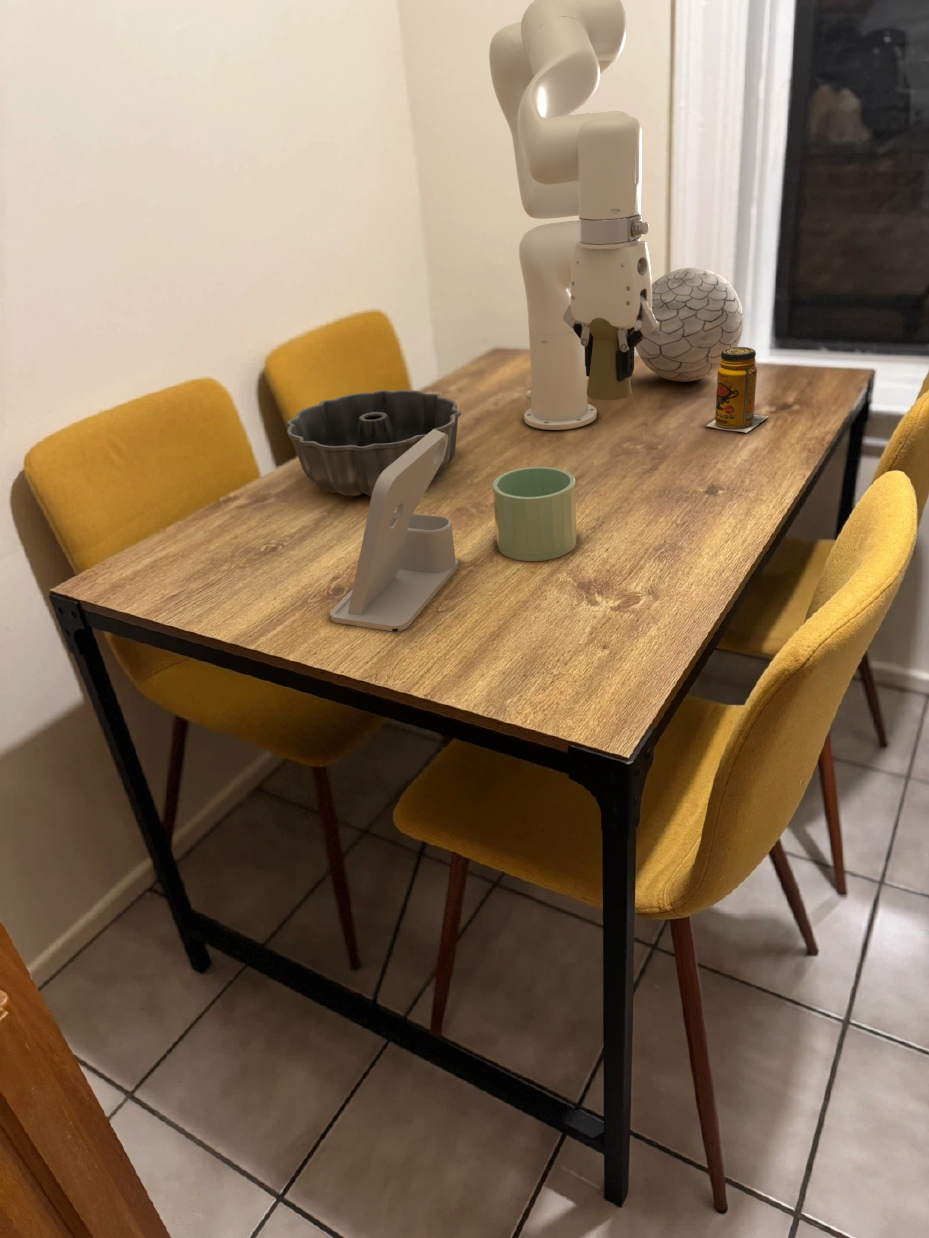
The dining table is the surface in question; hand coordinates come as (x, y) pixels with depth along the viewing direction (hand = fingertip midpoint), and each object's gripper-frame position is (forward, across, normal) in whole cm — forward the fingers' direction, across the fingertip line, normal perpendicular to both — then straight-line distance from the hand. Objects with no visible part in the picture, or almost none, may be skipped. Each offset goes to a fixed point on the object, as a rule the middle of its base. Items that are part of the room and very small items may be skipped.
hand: (609, 374), depth 120 cm
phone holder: (+16, +5, +39) cm, 43 cm away
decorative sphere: (+17, +15, -50) cm, 55 cm away
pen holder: (+16, -2, +20) cm, 26 cm away
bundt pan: (+17, +33, +14) cm, 39 cm away
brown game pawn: (+3, 0, 0) cm, 3 cm away
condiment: (+17, -4, -32) cm, 37 cm away
